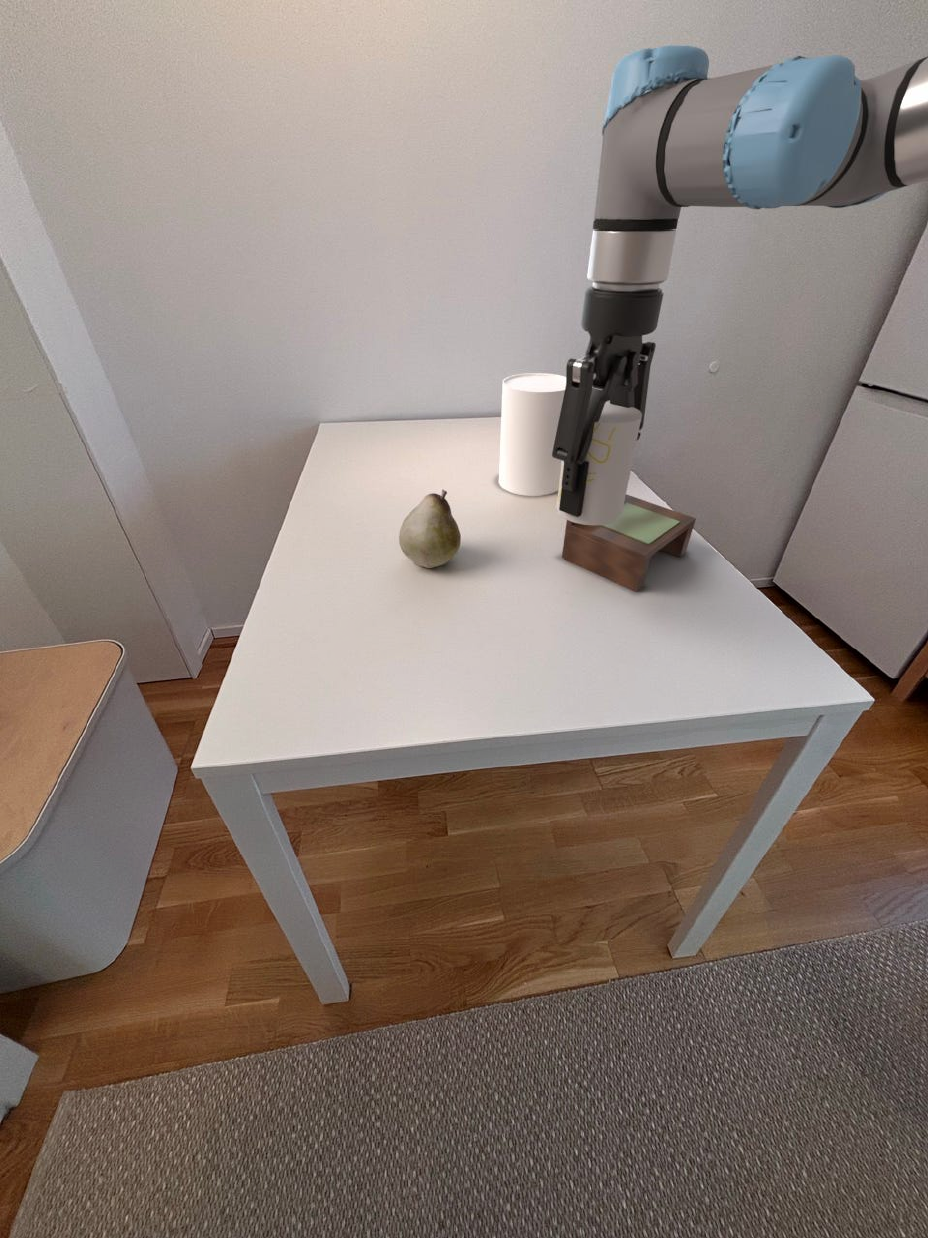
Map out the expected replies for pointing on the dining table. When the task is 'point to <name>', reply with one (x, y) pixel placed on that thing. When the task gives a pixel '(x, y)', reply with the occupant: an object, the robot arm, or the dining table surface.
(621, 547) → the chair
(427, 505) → the fruit
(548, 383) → the canister
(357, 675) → the dining table surface
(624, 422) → the white round cylinder
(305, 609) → the dining table surface
